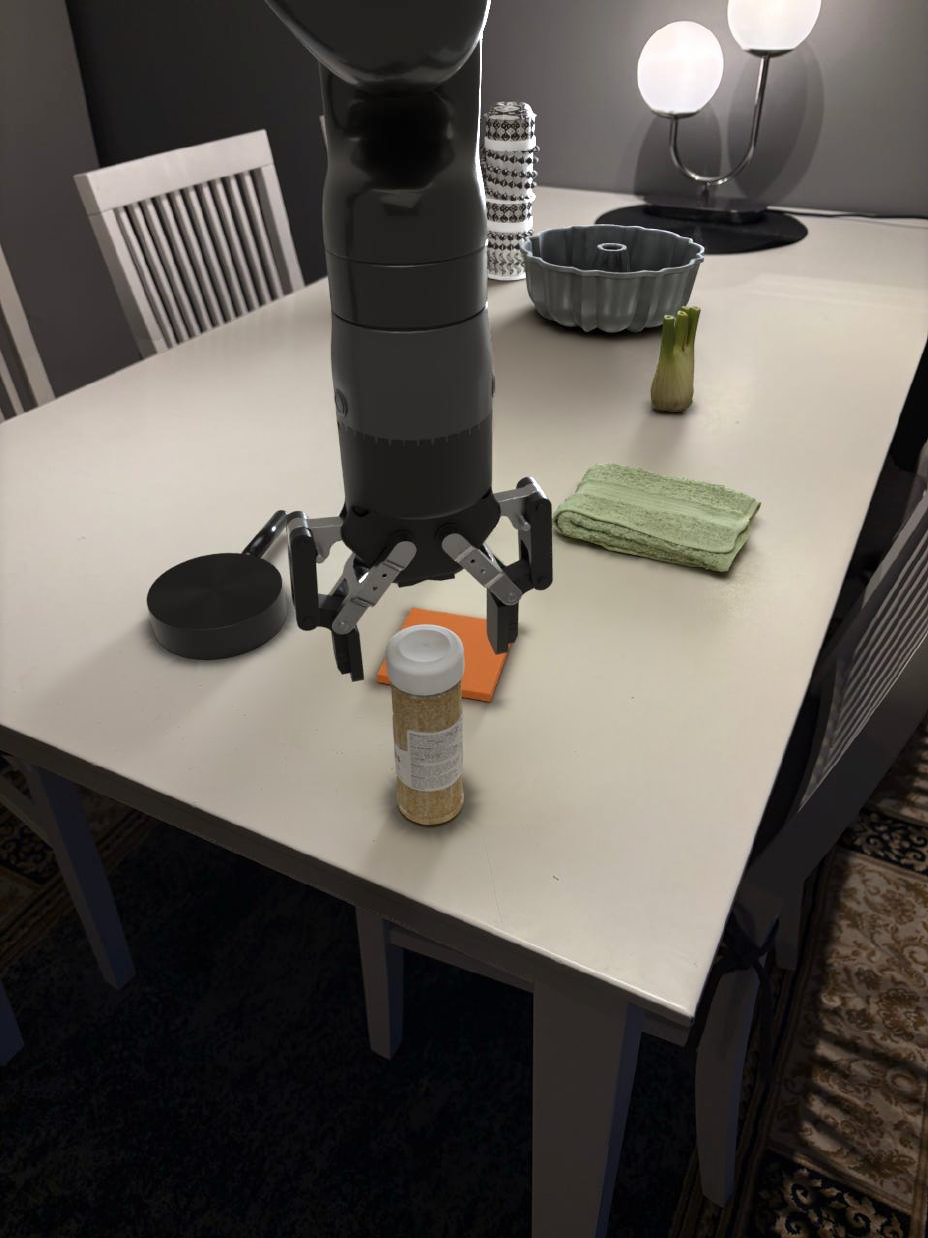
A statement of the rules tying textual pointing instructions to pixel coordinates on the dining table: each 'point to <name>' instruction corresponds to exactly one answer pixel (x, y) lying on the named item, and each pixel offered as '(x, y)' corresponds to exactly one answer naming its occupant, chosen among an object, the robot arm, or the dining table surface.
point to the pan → (221, 600)
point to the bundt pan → (610, 275)
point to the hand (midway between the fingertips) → (427, 659)
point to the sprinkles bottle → (427, 721)
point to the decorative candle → (508, 185)
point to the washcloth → (658, 516)
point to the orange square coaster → (478, 651)
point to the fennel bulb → (676, 362)
